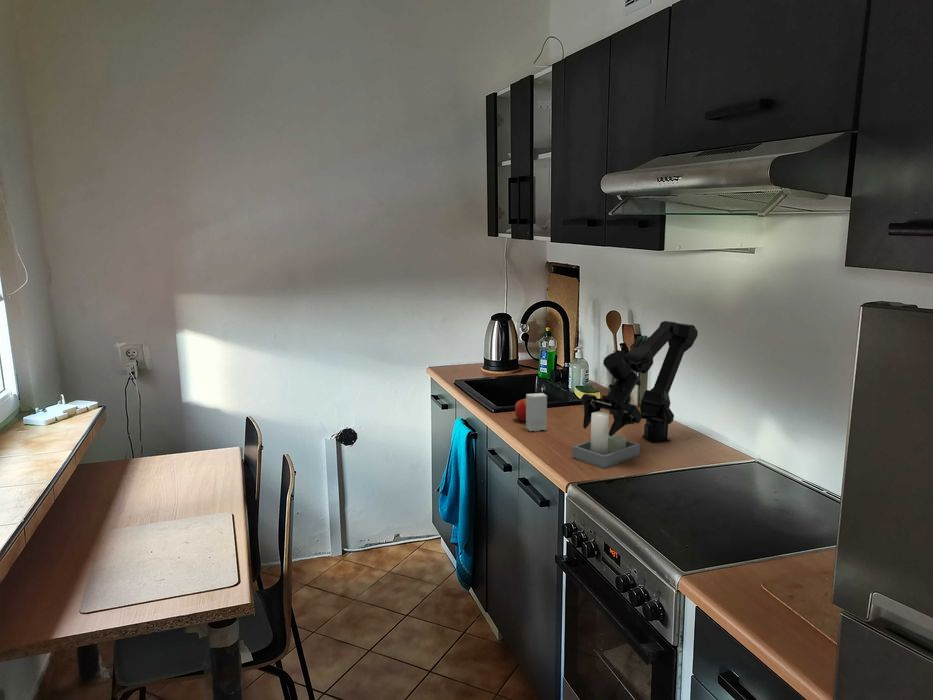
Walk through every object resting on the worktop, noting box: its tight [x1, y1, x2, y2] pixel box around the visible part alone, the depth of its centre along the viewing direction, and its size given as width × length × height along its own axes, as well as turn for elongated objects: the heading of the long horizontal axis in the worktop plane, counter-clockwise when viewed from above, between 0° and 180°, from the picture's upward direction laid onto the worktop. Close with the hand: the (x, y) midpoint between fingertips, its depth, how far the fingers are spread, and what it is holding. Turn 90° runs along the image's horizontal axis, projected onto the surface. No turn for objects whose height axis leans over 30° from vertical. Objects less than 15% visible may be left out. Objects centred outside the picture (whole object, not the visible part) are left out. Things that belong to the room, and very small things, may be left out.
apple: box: [514, 398, 526, 422], centre depth 236 cm, size 8×8×8 cm
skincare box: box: [525, 392, 548, 432], centre depth 226 cm, size 6×4×12 cm
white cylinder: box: [590, 411, 610, 455], centre depth 198 cm, size 5×5×13 cm
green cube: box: [608, 433, 627, 453], centre depth 203 cm, size 4×4×4 cm
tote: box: [571, 434, 641, 469], centre depth 201 cm, size 17×12×4 cm
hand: (596, 431), depth 197 cm, fingers open, 9 cm apart
